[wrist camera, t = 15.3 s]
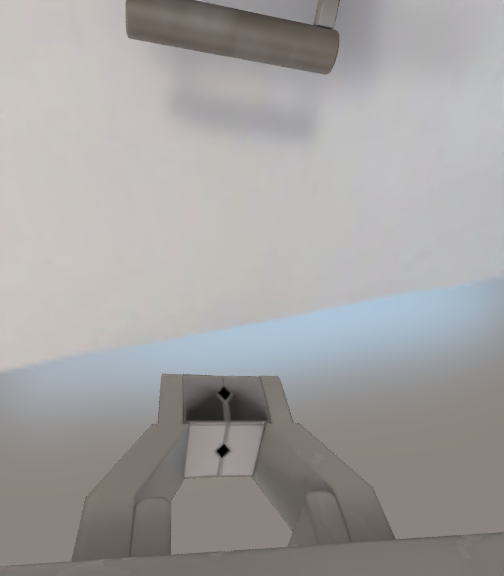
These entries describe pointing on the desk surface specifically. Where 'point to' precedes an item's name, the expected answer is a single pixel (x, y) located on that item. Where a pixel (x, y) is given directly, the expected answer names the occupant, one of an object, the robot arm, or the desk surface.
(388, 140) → the desk surface
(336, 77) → the desk surface
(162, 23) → the drawer
